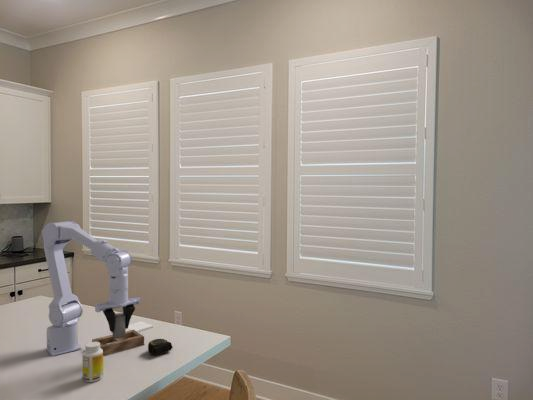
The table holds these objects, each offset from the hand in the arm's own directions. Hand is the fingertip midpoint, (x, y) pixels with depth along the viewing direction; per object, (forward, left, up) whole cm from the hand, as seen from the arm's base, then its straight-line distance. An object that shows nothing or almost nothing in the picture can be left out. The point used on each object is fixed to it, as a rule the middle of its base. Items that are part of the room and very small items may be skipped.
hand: (118, 329), depth 133 cm
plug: (0, 0, -2) cm, 2 cm away
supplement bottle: (-11, -10, -10) cm, 18 cm away
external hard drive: (+14, +22, -10) cm, 28 cm away
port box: (+3, +9, -9) cm, 13 cm away
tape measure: (+12, -5, -10) cm, 16 cm away
